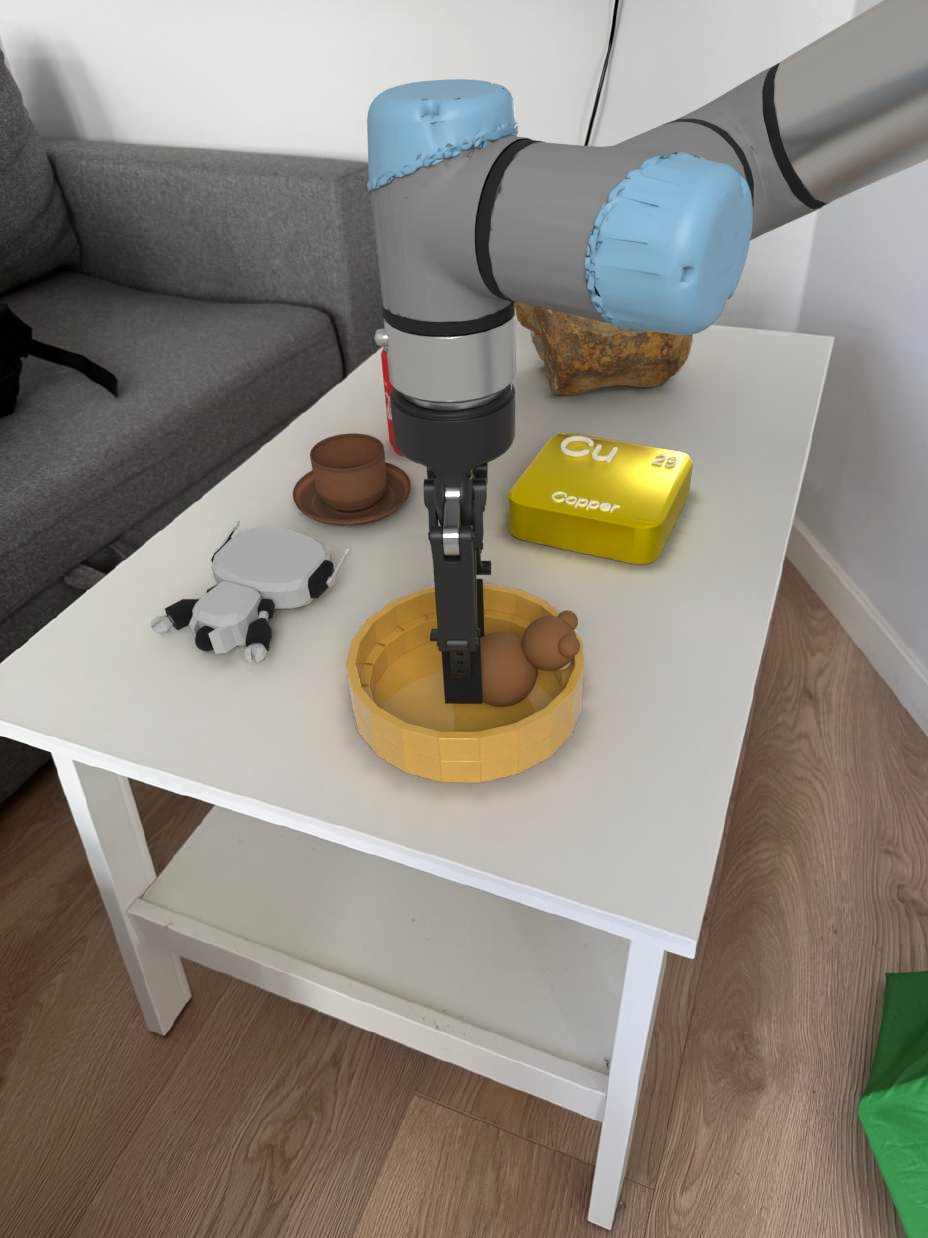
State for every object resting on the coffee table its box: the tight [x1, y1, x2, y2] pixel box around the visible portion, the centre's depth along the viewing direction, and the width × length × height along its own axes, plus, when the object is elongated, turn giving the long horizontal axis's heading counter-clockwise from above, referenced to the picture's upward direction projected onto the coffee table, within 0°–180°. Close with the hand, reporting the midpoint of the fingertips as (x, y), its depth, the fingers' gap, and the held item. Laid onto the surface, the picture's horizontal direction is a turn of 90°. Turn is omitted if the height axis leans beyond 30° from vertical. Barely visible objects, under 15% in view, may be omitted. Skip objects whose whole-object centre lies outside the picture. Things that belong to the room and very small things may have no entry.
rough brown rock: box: [515, 302, 694, 397], centre depth 110 cm, size 23×17×15 cm
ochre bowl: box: [345, 582, 585, 784], centre depth 69 cm, size 17×17×5 cm
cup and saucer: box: [292, 432, 412, 526], centre depth 92 cm, size 12×12×6 cm
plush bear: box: [481, 610, 580, 707], centre depth 68 cm, size 6×6×10 cm
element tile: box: [507, 432, 694, 565], centre depth 89 cm, size 15×15×5 cm
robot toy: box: [150, 520, 351, 663], centre depth 79 cm, size 12×4×15 cm
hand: (465, 673), depth 69 cm, fingers closed on plush bear, 5 cm apart
